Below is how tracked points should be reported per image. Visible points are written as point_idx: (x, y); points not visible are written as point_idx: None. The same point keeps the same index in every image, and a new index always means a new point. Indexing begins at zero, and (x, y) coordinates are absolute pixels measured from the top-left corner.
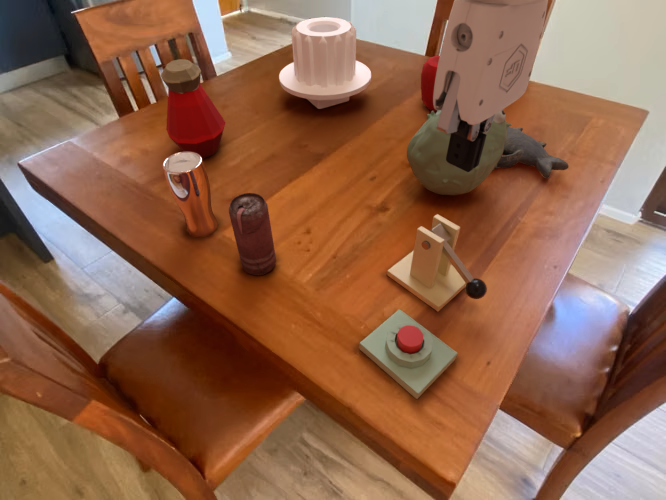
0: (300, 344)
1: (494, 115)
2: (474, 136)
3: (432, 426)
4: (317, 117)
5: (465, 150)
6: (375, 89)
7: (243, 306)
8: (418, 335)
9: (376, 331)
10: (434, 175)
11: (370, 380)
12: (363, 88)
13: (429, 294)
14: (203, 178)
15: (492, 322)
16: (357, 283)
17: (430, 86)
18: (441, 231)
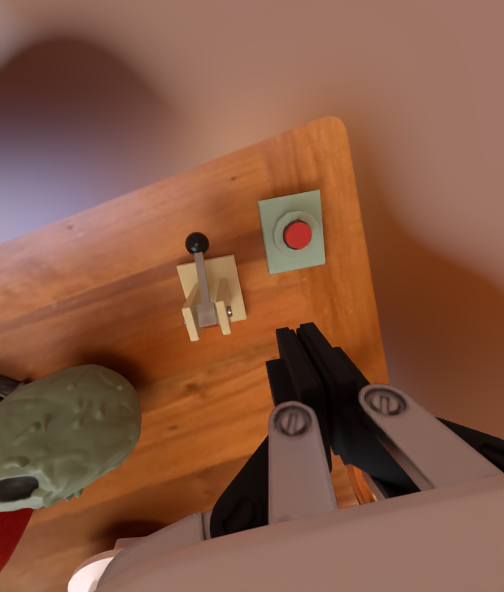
0: (357, 292)
1: (271, 466)
2: (380, 398)
3: (322, 161)
4: (168, 525)
5: (355, 370)
6: (73, 546)
7: (369, 348)
8: (292, 231)
9: (305, 265)
10: (127, 400)
11: (334, 230)
12: (99, 555)
13: (231, 273)
14: (370, 490)
15: (194, 212)
16: (276, 321)
17: (9, 537)
18: (204, 316)
